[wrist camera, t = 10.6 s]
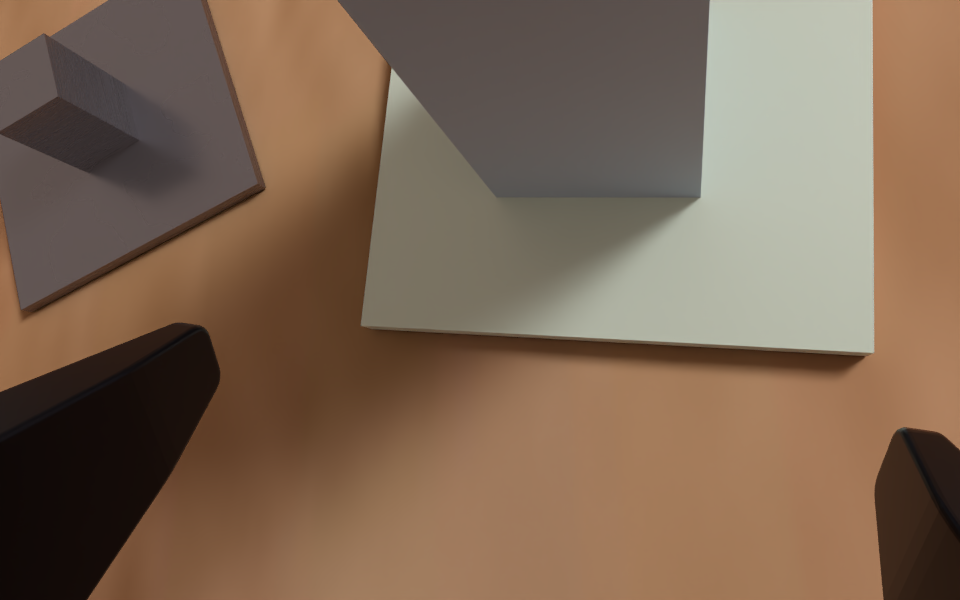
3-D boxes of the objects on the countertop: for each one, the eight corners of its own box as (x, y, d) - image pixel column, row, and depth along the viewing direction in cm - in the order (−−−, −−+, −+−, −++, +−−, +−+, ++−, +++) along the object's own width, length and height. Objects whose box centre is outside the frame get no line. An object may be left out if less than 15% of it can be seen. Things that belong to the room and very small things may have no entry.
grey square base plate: (265, 187, 21) (187, 142, 17) (32, 312, 22) (-78, 291, 19) (194, -41, 23) (114, -117, 20) (-11, 86, 25) (-114, 35, 22)
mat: (867, 356, 15) (874, 353, 15) (370, 328, 19) (360, 325, 18) (866, -126, 17) (871, -145, 17) (417, -68, 21) (409, -82, 20)
